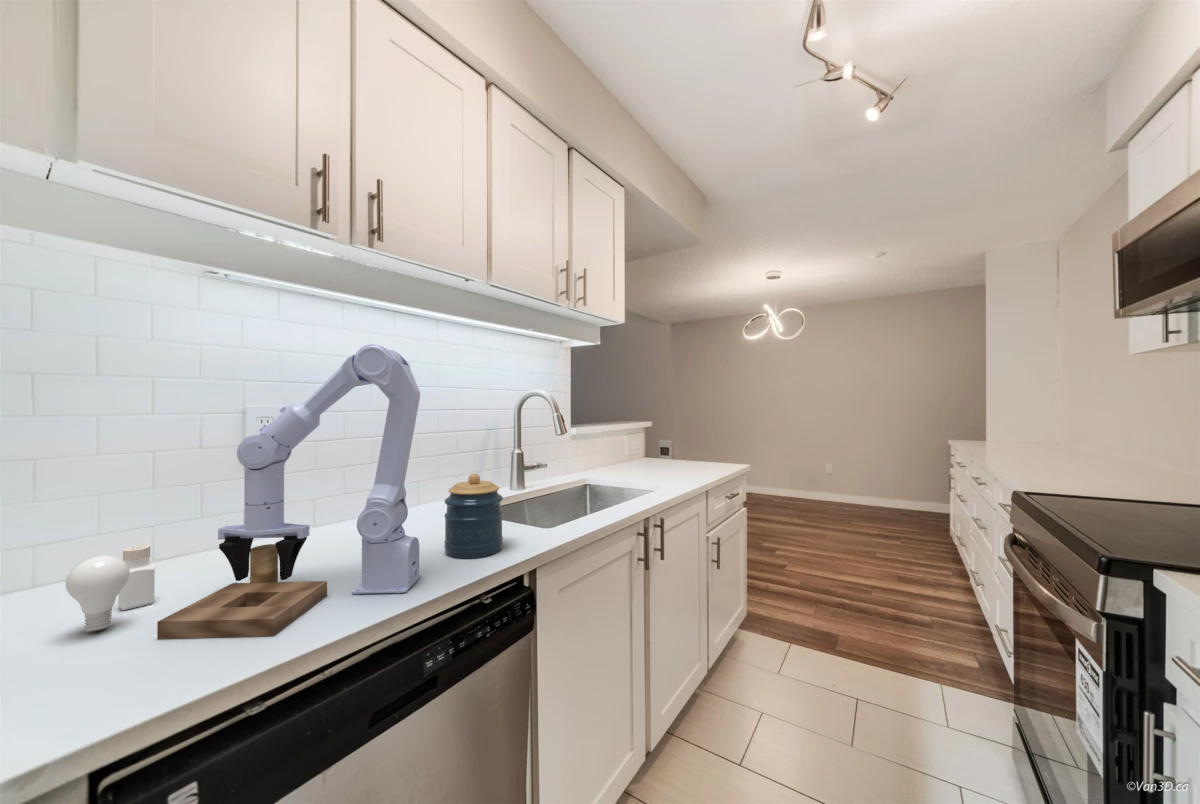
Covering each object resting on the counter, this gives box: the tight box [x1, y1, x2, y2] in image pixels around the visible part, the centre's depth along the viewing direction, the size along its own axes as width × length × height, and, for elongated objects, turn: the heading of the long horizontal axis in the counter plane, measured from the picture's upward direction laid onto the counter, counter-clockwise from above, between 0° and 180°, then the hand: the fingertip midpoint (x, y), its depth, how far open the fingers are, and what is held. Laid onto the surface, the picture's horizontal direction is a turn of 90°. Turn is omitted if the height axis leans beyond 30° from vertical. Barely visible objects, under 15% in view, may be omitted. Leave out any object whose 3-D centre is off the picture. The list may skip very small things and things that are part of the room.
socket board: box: [156, 580, 328, 640], centre depth 72 cm, size 16×14×2 cm
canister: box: [443, 472, 504, 559], centre depth 104 cm, size 13×13×18 cm
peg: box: [249, 543, 279, 583], centre depth 81 cm, size 4×4×8 cm
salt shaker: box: [117, 544, 156, 611], centre depth 76 cm, size 4×4×10 cm
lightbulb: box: [65, 554, 130, 633], centre depth 67 cm, size 6×6×11 cm
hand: (264, 578), depth 81 cm, fingers open, 7 cm apart
